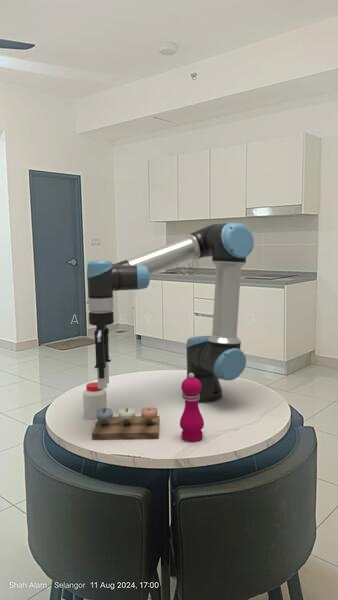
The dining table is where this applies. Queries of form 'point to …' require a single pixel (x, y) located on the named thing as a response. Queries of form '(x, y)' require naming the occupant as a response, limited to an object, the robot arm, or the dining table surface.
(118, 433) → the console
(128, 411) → the button
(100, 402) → the pill bottle
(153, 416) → the button
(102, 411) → the button
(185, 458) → the dining table surface
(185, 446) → the dining table surface
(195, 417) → the pepper mill
